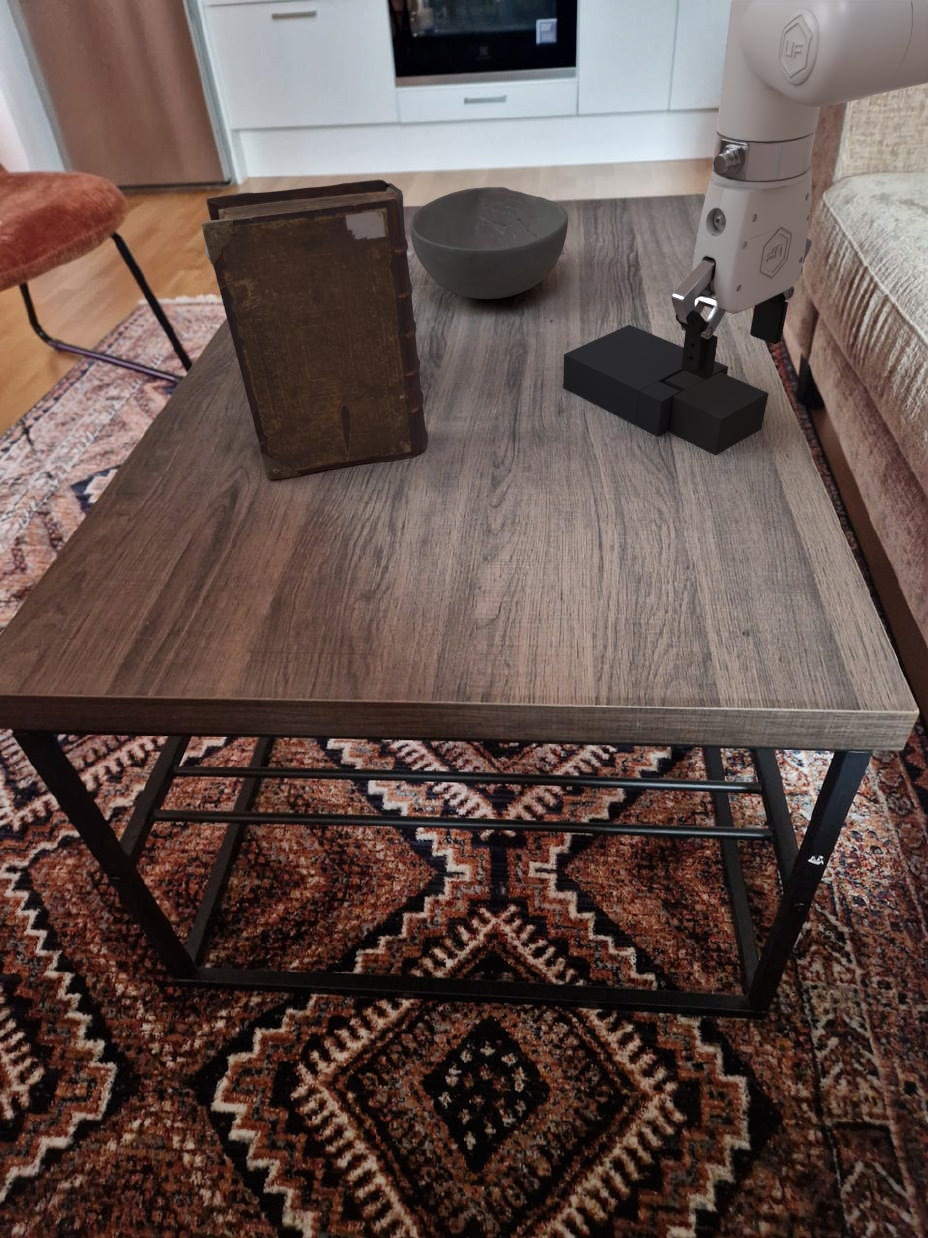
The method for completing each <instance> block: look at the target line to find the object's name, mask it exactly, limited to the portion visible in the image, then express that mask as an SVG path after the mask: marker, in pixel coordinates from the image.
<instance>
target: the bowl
mask: <svg viewBox="0 0 928 1238" xmlns="http://www.w3.org/2000/svg"><path fill="white" fill-rule="evenodd" d="M568 226H569V215H568V212H567V211H566V209H565V208H564V207H563V206H562V205H560V204H558V203H556V202H554V201H552V200H550V199H547V198H545V197H542V196H536V195H532V194H528V193H524V192H522V191H517V190H513V189H510V188H507V187H503V186H485V187H473V188H466V189H462V190H458V191H454V192H450V193H447V194H445V195H443V196H440V197H437V198H436V199H433V200H432V201H430V202H428V203H426V204H424V205H423V206H422V207H421V208H419V209H418V210H417V211H416V212H415V213H414V215H413V216H412V218H411V220H410V225H409V230H410V231H409V232H410V239H411V244H412V247H413V250H414V253H415V255H416V257H417V259H418V261H419V263H420V264H421V266H422V267H423V269H424V270H425V272H426V273H427V274H428V275H429V277H430V278H431V279H432V280H433V281H434V282H435V283H436V284H437V285H438V286H440V287H441V288H443V289H444V290H446V291H448V292H449V293H452V294H454V295H457V296H460V297H465V298H469V299H470V298H471V299H477V300H498V299H504V298H510V297H513V296H516V295H519V294H521V293H524V292H526V291H528V290H530V289H531V288H533V287H535V286H536V285H538V284H539V283H541V282H543V280H544V279H546V278H547V277H548V275H550V273H551V272H552V271H553V270H554V268H555V266H556V265H557V262H558V261H559V259H560V257H561V254H562V252H563V249H564V246H565V243H566V239H567V233H568V229H569V228H568Z"/></svg>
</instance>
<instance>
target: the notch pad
mask: <svg viewBox="0 0 928 1238" xmlns="http://www.w3.org/2000/svg"><path fill="white" fill-rule="evenodd" d="M683 349H684V346H682V345H679V344H676V343H674V342H672V341H669V340H668V339H665V338H663V337H660V336H658V335H655V334H653V333H650V332H648V331H647V330H643V329H641V328H639V327H637V326H634V325H633V324H632V325H631V324H627V325H625V326H623V327H620V328H618V329H616V330H614V331H612V332H609V333H607V334H605V335H603V336H601V337H599V338H596V339H594V340H592V341H589V342H587V343H585V344H582V345H581V346H579V347H577V348H574V349H572V350H569V351H568V352H566V353H563V376H562V377H563V379H562V388H563V389H565V390H567V391H569V392H570V393H572V394H574V395H577V396H579V397H580V398H582V399H584V400H586V401H588V402H590V403H592V404H593V405H595V406H598V407H599V408H601V409H604V410H605V411H607V412H609V413H611V414H613V415H615V416H616V417H619V418H621V419H622V420H624V421H627V422H629V423H631V424H632V425H634V426H637V427H639V428H640V429H642V430H644V431H647V432H648V433H650V434H652V435H654V436H656V437H659V436H661V435H664V434H665V433H667V432H669V429H670V421H671V412H672V403H673V396H675V395H677V394H679V393H681V392H680V391H679V390H676V389H674V388H672V387H670V386H668V385H666V384H665V380H666V379H668V378H670V377H672V376H674V375H676V374H678V373H680V372H682V371H684V370H683V369H682V358H683ZM720 372H721V373H723V374H726V375H728V373H729V366H728V365H726V364H723V363H721V362H719V361H716V360H715V363H714V371H713V376H714V375H716V374H718V373H720Z"/></svg>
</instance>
